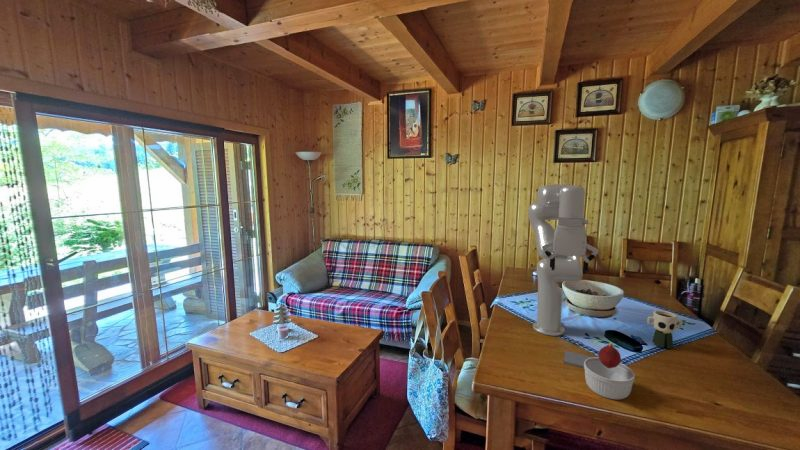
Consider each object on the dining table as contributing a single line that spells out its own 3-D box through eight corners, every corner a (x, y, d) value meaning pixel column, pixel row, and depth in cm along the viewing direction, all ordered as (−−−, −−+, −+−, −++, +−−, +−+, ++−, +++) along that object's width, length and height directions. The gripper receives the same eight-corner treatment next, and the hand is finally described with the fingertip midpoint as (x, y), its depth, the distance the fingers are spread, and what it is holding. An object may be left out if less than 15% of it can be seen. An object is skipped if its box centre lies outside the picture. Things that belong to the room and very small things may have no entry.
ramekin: (628, 382, 104) (629, 362, 103) (638, 408, 92) (639, 385, 91) (581, 372, 110) (582, 353, 109) (584, 396, 98) (586, 374, 97)
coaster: (565, 352, 122) (565, 350, 122) (589, 358, 118) (590, 356, 118) (563, 363, 115) (563, 361, 115) (589, 369, 111) (589, 367, 111)
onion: (623, 374, 97) (625, 349, 96) (602, 372, 98) (604, 347, 97) (614, 363, 102) (616, 339, 101) (594, 362, 103) (596, 338, 102)
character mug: (648, 347, 125) (651, 315, 123) (642, 339, 131) (645, 308, 129) (683, 352, 120) (687, 319, 119) (676, 343, 127) (679, 312, 125)
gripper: (600, 222, 109) (597, 271, 111) (544, 220, 118) (543, 266, 120) (600, 225, 103) (597, 277, 105) (541, 222, 112) (539, 270, 114)
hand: (568, 271), depth 113 cm, fingers open, 9 cm apart
